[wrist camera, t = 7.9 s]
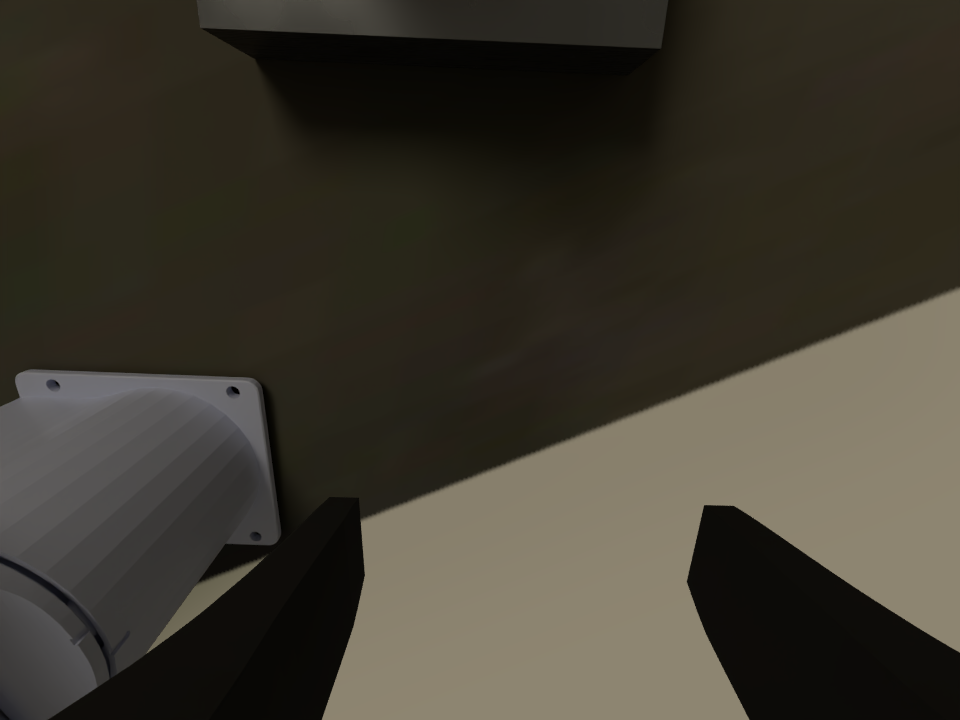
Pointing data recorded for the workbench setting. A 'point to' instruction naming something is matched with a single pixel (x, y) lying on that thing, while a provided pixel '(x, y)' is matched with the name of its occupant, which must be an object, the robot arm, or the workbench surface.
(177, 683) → the robot arm
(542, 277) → the workbench surface
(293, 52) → the steel base
